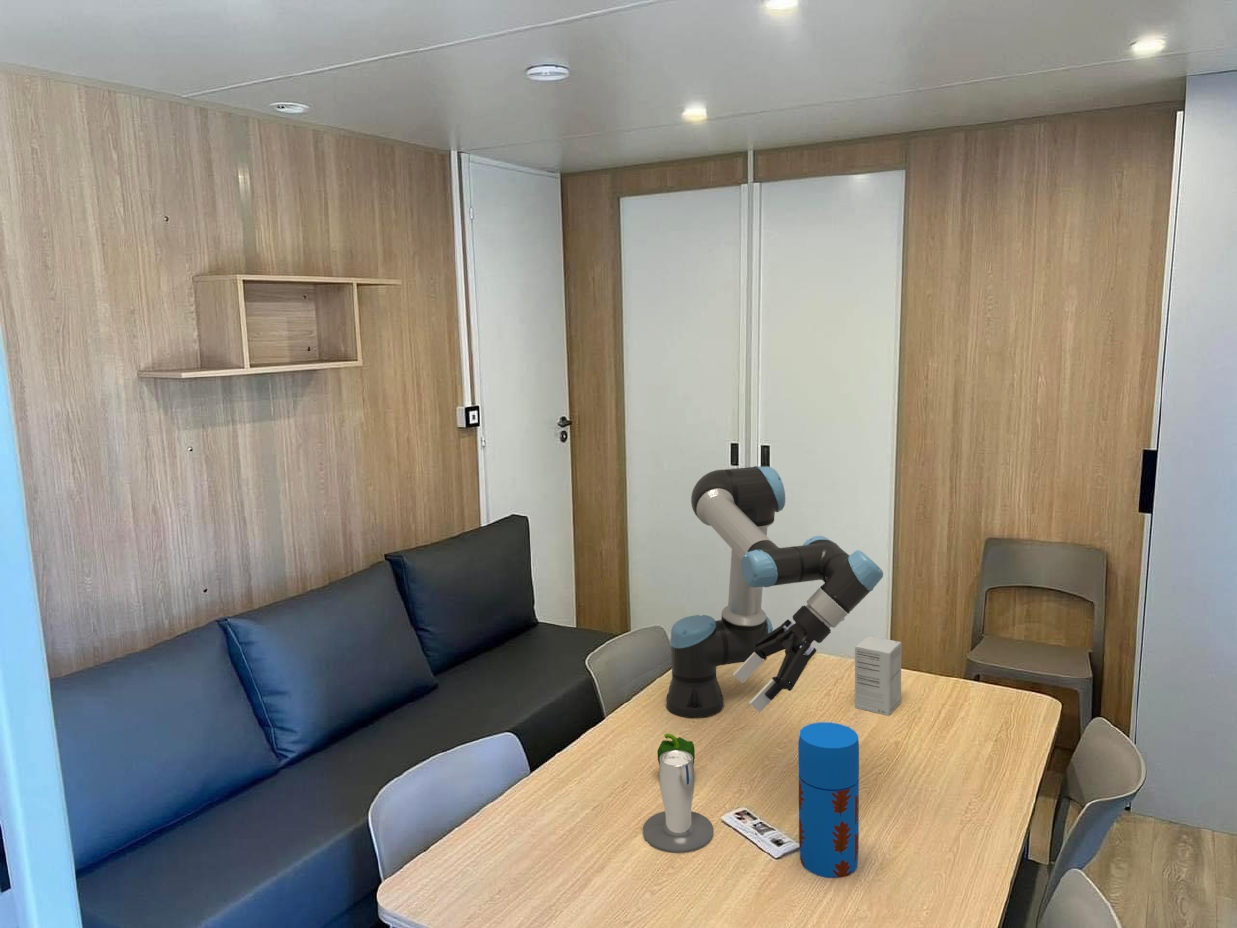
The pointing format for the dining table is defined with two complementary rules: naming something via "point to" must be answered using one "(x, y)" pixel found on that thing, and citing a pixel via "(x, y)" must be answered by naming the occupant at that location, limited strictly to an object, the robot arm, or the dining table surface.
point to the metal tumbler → (677, 791)
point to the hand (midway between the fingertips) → (745, 692)
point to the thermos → (828, 799)
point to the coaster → (672, 844)
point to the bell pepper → (675, 746)
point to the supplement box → (878, 675)
